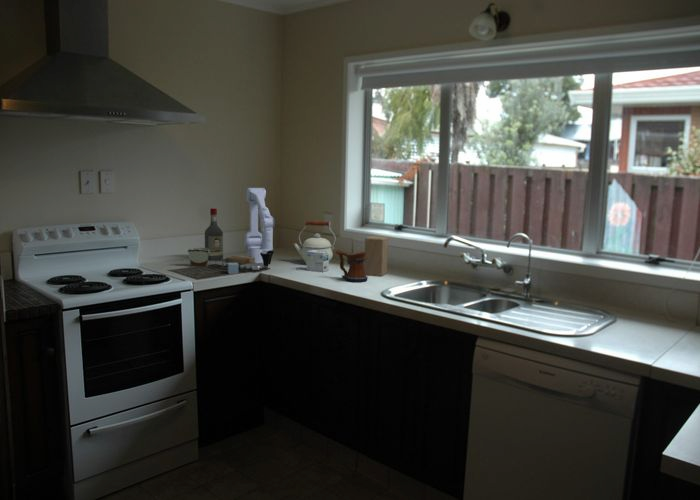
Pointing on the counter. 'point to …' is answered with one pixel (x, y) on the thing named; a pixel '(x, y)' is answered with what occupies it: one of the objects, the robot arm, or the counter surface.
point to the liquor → (214, 238)
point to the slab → (240, 259)
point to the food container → (198, 257)
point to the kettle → (315, 242)
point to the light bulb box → (318, 260)
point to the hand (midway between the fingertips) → (267, 265)
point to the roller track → (248, 267)
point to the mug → (353, 266)
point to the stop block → (233, 268)
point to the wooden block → (376, 255)
